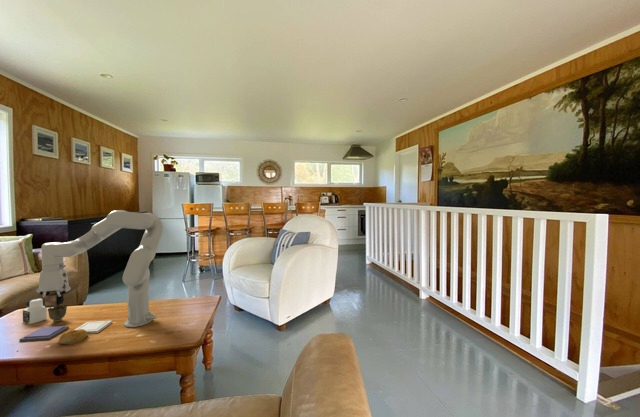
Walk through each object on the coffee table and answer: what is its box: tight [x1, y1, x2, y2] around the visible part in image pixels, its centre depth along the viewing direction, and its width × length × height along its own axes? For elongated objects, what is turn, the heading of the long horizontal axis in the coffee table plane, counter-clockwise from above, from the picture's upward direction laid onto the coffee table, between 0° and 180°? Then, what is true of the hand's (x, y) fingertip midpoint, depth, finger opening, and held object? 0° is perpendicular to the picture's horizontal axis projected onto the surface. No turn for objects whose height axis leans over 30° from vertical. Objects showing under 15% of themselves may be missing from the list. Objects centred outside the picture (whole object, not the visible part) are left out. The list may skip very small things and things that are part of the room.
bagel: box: [58, 329, 89, 345], centre depth 126 cm, size 10×11×5 cm
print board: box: [74, 319, 113, 335], centre depth 138 cm, size 12×12×1 cm
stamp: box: [44, 291, 64, 308], centre depth 132 cm, size 4×4×8 cm
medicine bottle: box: [22, 297, 48, 325], centre depth 146 cm, size 7×7×12 cm
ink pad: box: [19, 325, 69, 343], centre depth 131 cm, size 12×12×2 cm
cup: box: [47, 304, 68, 324], centre depth 146 cm, size 8×7×8 cm
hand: (54, 303), depth 132 cm, fingers closed on stamp, 4 cm apart
